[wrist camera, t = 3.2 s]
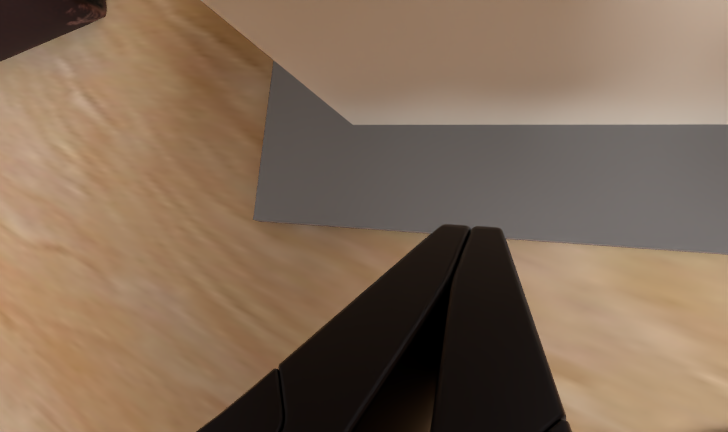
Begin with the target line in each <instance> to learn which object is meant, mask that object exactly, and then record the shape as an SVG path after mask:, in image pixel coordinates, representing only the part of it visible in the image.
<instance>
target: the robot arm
mask: <svg viewBox="0 0 728 432" xmlns="http://www.w3.org/2000/svg"><path fill="white" fill-rule="evenodd" d="M278 368H279V370H278V369H273V370H272V371H271V372H269V373H268V374H267V375H266V376H265V377H264V378H262V379H261V380H260V381H259V382H258V383H257V384H256V385H254V386H253V387H252V388H251V389H250V390H248V391H247V392H246V393H245V394H243V395H242V396H241V397H240V398H239V399H237V400H236V401H235V402H234V403H232V404H231V405H230V406H229V407H228V408H226V409H225V410H224V411H223V412H221V413H220V414H219V415H218V416H216V417H215V418H214V419H212V420H211V421H210V422H208V423H207V424H206V425H204V426H203V427H202V428H200V429H199V430H198V431H196V432H572V431H571V428H570V425H569V423H568V421H566V414H565V412H564V409H563V406H562V403H561V400H560V397H559V394H558V391H557V388H556V385H555V382H554V379H553V376H552V373H551V371H550V368H549V365H548V362H547V359H546V356H545V353H544V350H543V347H542V344H541V341H540V338H539V335H538V333H537V330H536V327H535V324H534V321H533V318H532V315H531V312H530V309H529V306H528V303H527V300H526V297H525V294H524V292H523V289H522V286H521V283H520V280H519V277H518V274H517V271H516V268H515V265H514V262H513V259H512V256H511V253H510V251H509V248H508V245H507V242H506V239H505V236H504V233H503V231H502V229H501V228H499V227H487V226H475V227H473V228H472V229H471V228H470V227H469V226H467V225H455V224H443V225H441V226H440V227H438V228H437V229H436V230H435V231H434V232H432V233H431V234H430V235H429V236H428V237H427V238H425V239H424V240H423V241H422V242H421V243H420V244H419V245H417V246H416V247H415V248H414V249H413V250H412V251H410V252H409V253H408V254H407V255H406V256H405V257H403V258H402V259H401V260H400V261H399V262H398V263H396V264H395V265H394V266H393V267H392V268H391V269H389V270H388V271H387V272H386V273H385V274H384V275H383V276H381V277H380V278H379V279H378V280H377V281H376V282H374V283H373V284H372V285H371V286H370V287H369V288H367V289H366V290H365V291H364V292H363V293H362V294H360V295H359V296H358V297H357V298H356V299H355V300H353V301H352V302H351V303H350V304H349V305H348V306H346V307H345V308H344V309H343V310H342V311H341V312H340V313H338V314H337V315H336V316H335V317H334V318H333V319H331V320H330V321H329V322H328V323H327V324H326V325H324V326H323V327H322V328H321V329H320V330H319V331H317V332H316V333H315V334H314V335H313V336H312V337H310V338H309V339H308V340H307V341H306V342H305V343H303V344H302V345H301V346H300V347H299V348H298V349H297V350H295V351H294V352H293V353H292V354H291V355H290V356H288V357H287V358H286V359H285V360H284V361H283V362H281V363H280V364H279V367H278Z"/></svg>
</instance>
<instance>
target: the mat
mask: <svg viewBox="0 0 728 432" xmlns="http://www.w3.org/2000/svg"><path fill="white" fill-rule="evenodd" d="M253 220H256V221H261V222H275V223H289V224H303V225H318V226H332V227H346V228H360V229H374V230H388V231H402V232H416V233H430V234H431V233H432V232H434V231H435V230H436V229H437V228H438V227H440V226H441V225H443V224H455V225H467V226H469V227H470V228H471V229H472V228H473V227H475V226H487V227H499V228H501V229H502V231H503V233H504V236H505V239H515V240H529V241H543V242H557V243H572V244H586V245H600V246H614V247H628V248H642V249H656V250H670V251H684V252H699V253H713V254H727V255H728V124H678V125H352V124H351V123H350V122H349V121H347V120H346V119H345V118H344V117H343V116H341V115H340V114H339V113H338V112H336V111H335V110H334V109H333V108H332V107H330V106H329V105H328V104H327V103H325V102H324V101H323V100H322V99H321V98H319V97H318V96H317V95H316V94H314V93H313V92H312V91H311V90H310V89H308V88H307V87H306V86H305V85H303V84H302V83H301V82H300V81H299V80H297V79H296V78H295V77H294V76H292V75H291V74H290V73H289V72H288V71H286V70H285V69H284V68H283V67H281V66H280V65H279V64H278V63H277V62H275V61H273V69H272V77H271V85H270V92H269V100H268V108H267V116H266V124H265V131H264V139H263V147H262V155H261V163H260V170H259V178H258V186H257V194H256V202H255V209H254V217H253Z"/></svg>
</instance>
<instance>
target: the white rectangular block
mask: <svg viewBox="0 0 728 432" xmlns="http://www.w3.org/2000/svg"><path fill="white" fill-rule="evenodd" d="M201 1H202V2H203V3H204V4H206V5H207V6H208V7H209V8H211V9H212V10H213V11H214V12H215V13H217V14H218V15H219V16H220V17H222V18H223V19H224V20H225V21H226V22H228V23H229V24H230V25H231V26H233V27H234V28H235V29H236V30H237V31H239V32H240V33H241V34H242V35H244V36H245V37H246V38H247V39H248V40H250V41H251V42H252V43H253V44H255V45H256V46H257V47H258V48H259V49H261V50H262V51H263V52H264V53H266V54H267V55H268V56H269V57H270V58H272V59H273V60H274V61H275V62H277V63H278V64H279V65H280V66H281V67H283V68H284V69H285V70H286V71H288V72H289V73H290V74H291V75H292V76H294V77H295V78H296V79H297V80H299V81H300V82H301V83H302V84H303V85H305V86H306V87H307V88H308V89H310V90H311V91H312V92H313V93H314V94H316V95H317V96H318V97H319V98H321V99H322V100H323V101H324V102H325V103H327V104H328V105H329V106H330V107H332V108H333V109H334V110H335V111H336V112H338V113H339V114H340V115H341V116H343V117H344V118H345V119H346V120H347V121H349V122H350V123H351V124H352V125H678V124H728V0H201Z"/></svg>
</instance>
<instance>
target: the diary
mask: <svg viewBox="0 0 728 432" xmlns="http://www.w3.org/2000/svg"><path fill="white" fill-rule="evenodd" d="M106 11H107V10H106V2H105V0H0V61H2V60H5V59H7V58H9V57H12V56H14V55H17V54H19V53H21V52H24V51H26V50H28V49H31V48H33V47H36V46H38V45H40V44H43V43H45V42H47V41H50V40H52V39H54V38H57V37H59V36H62V35H64V34H66V33H69V32H71V31H73V30H76V29H78V28H80V27H83V26H85V25H88V24H90V23H92V22H94V21H96V20H98V19H100V18H102V17H105V16H106Z"/></svg>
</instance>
